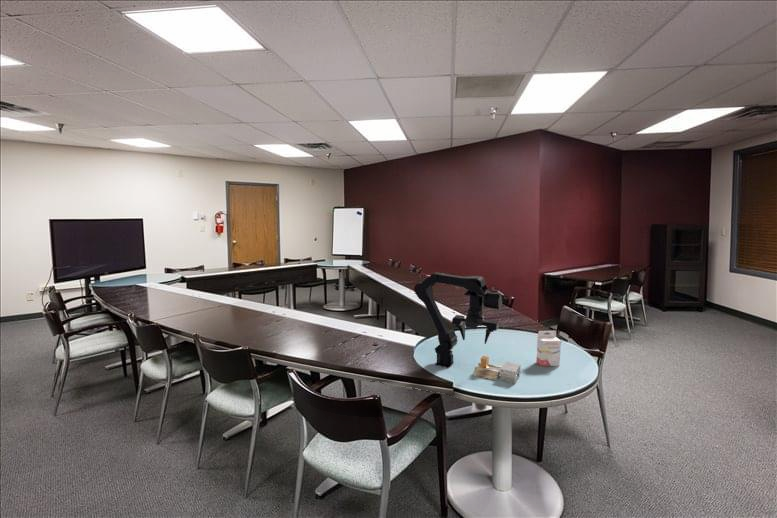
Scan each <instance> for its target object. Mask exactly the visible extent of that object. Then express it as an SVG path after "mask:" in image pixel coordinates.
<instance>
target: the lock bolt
mask: <svg viewBox="0 0 777 518" xmlns="http://www.w3.org/2000/svg"><path fill="white" fill-rule="evenodd" d="M489 360H490V359H489V356H486V355H482V356H481V357H480V362H481V367H483V368H488V369H493V370H498V374H499V375H500V373H501V368H502V367H501V368H496V367H491V366H489V364H490V363H489Z"/></svg>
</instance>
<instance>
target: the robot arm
mask: <svg viewBox="0 0 777 518" xmlns="http://www.w3.org/2000/svg"><path fill="white" fill-rule="evenodd" d="M437 283H438V284H444V285H445V284H446V285H451V286H457V287H461V288H463V289H465V290H466V292H464V296H469V297H468V310H467V315H466V317H465V316H464V315H461V314H456V315H455V316H454V317H453V318H452V320H451V325H454V326H455V328H456V327H457V328H458V330H459V332H460V335H461V338H462V341H465V340H466V329H473V330H476V329H477V328H478V327H482V326H483V327H486V329H485V335H484V336H485V337H484V344H485V345H486V344H487V342H488V340H489V337H490V335H491V333H494V332H495V331H497V330H498V329H499V327H500V323H499V321H498V320H496V319H489V320H488V321H484V318H483V313H484V312H483V310H484V308H485V309H489V310H490V309H491V310H497V311H501V309H502V306H503V297H502V293H501V292H491V290H490V289H489V287H488V286H487V284H486V280H485V278H484V277H483V276H480V275H469V276H461V275H454V274H450V273H443V272H438V271H436V272H433V273H431V274H430V275H429V276H428V277H426V279H424V280H422V281H420V282H418V283H416V284H415V285H414V288H413V291H414V293H415V295H416V297H417V298H418V299H419V300H420V301H422V303H423V304H424V306H425V308H426V310H427V313H428V314H429V316H430V318H431V320H432V321H431V322H432V323H433V325H434V326H435V329H436V331H437V341H438V343H439V344H438V345H437V346H436V347H435V348H434V351H435V354H436V362H435V363H434V364H435V365H434V366H438V367H443V368H450V367H451V366H452V365H453V364H454V363H455V362H454V354H453V349H454V347H455V346H456V345H458V336H457V334H456V332H455V329H454V328H453V329H450V328H449V327H448V326H447V323H446V321H445V319H444V317H443V315H442V313H441V311H440V309H439V307H438V305H437V303H436V301H435V299H434V290H433V287H434V286H435V285H436V284H437Z"/></svg>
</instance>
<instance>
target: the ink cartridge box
mask: <svg viewBox="0 0 777 518" xmlns="http://www.w3.org/2000/svg"><path fill="white" fill-rule="evenodd" d="M536 345H537V346H536V363H537V364H538V365H539V366H540V367H560V365H561V364H560V361H561V350H562V349H561V345H562V341H561V339H559V338H558V337H557V330H539V331H538V335H537V343H536Z"/></svg>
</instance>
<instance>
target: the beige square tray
mask: <svg viewBox="0 0 777 518" xmlns="http://www.w3.org/2000/svg"><path fill="white" fill-rule="evenodd" d="M489 366H491V367H496V368H502V366H501V365H495V364H492V363H489ZM473 375H474V377H477V376H479V377H478V378H482V377H483V379H486V378H488V379H487V380H491V379H492V380H491V381H495V380H496V381H497V380H498V379H499V378H500V376H499V374H498V370H493V369H488V368H483V367H481V361H479V362H478V366H477V365H475V366H474V372H473V373H472V376H473Z"/></svg>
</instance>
